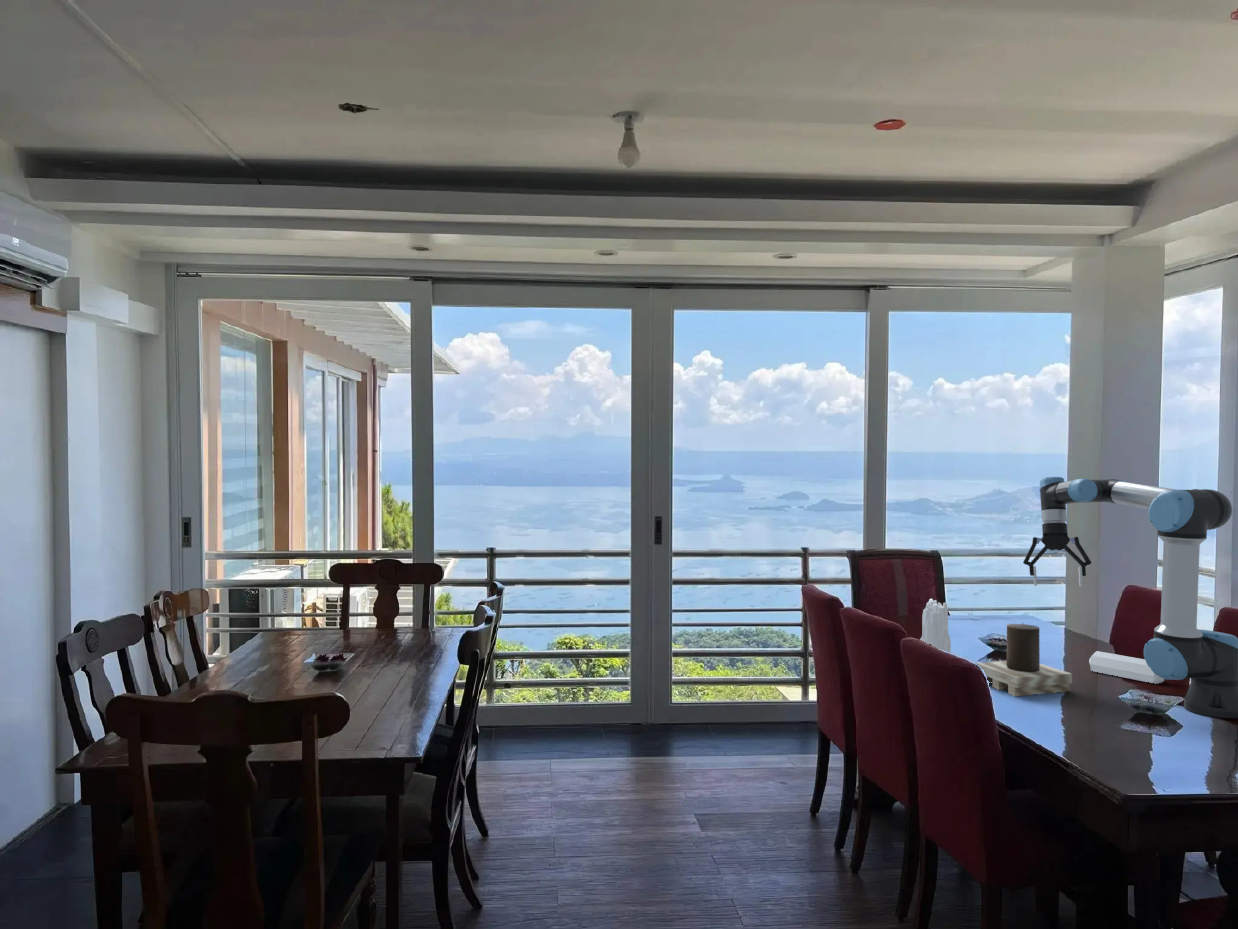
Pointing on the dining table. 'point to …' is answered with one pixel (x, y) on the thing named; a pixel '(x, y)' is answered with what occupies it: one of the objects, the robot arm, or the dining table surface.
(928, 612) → the decorative vase
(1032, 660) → the pillar candle
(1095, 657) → the white octagonal bar
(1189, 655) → the robot arm
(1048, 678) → the plate
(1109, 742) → the dining table surface
